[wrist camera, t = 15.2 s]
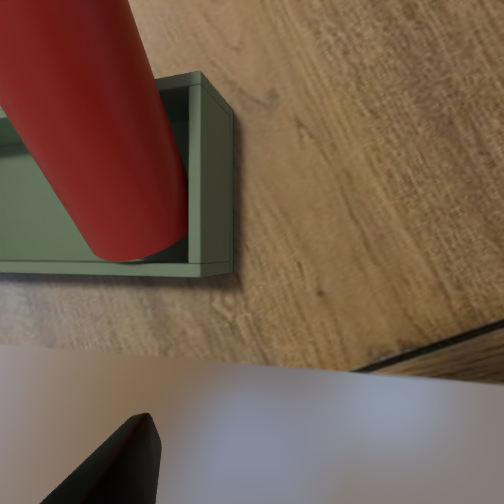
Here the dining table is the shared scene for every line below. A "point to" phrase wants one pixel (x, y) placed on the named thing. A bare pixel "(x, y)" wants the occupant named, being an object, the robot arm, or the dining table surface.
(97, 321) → the dining table surface
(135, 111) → the can
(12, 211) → the bin
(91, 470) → the robot arm
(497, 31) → the dining table surface
